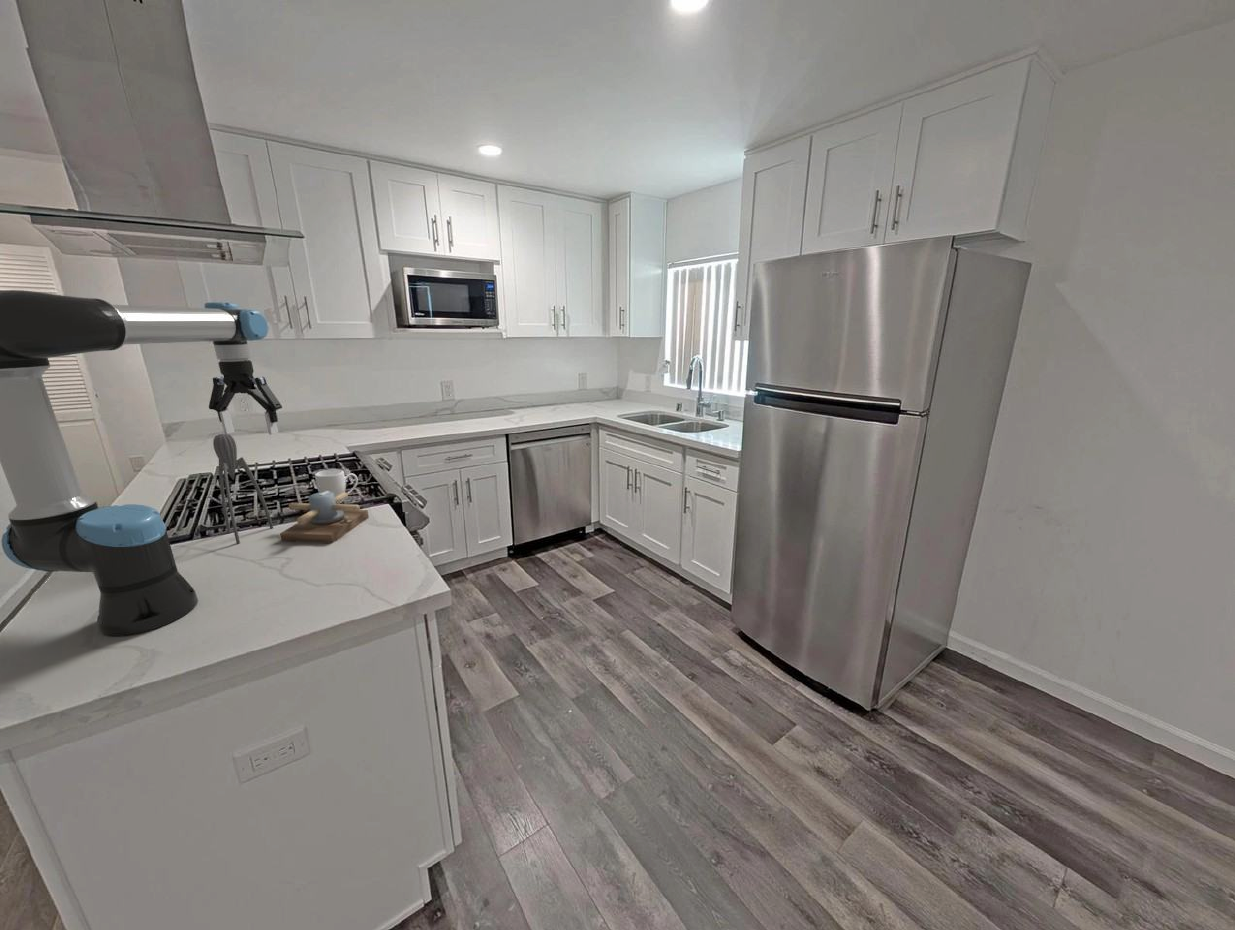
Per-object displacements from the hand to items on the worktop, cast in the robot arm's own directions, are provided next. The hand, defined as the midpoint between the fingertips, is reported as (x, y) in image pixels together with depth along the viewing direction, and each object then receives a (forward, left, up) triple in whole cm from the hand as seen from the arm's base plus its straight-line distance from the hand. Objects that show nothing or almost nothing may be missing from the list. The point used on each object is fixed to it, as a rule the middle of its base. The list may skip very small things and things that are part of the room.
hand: (251, 433), depth 141 cm
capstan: (-5, -23, -25) cm, 34 cm away
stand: (-6, -22, -28) cm, 36 cm away
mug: (+14, -14, -28) cm, 34 cm away
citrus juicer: (-11, 0, -28) cm, 30 cm away
